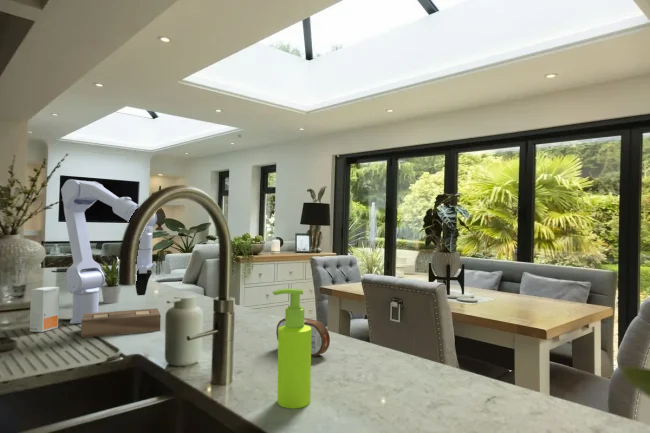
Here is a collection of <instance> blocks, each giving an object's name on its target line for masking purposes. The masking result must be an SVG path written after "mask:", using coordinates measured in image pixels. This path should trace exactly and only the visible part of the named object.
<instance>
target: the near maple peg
mask: <svg viewBox="0 0 650 433" xmlns="http://www.w3.org/2000/svg"><path fill="white" fill-rule="evenodd" d="M99 317H108V314H103V315H94V317H93V318H99Z"/></svg>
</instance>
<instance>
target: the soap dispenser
mask: <svg viewBox="0 0 650 433" xmlns="http://www.w3.org/2000/svg"><path fill="white" fill-rule="evenodd" d="M272 294H273V295H274V296H278V295H284V294H287V295H289V297H290V299H289V300H290V302H289V303H290V305H289V306H287V307H286V308H285V311H284V312H285V317H284V318H285V325H284V326H281V327H279V328H278V339H277V396H276V397H277V400H276V402H277V404H278V405H279V406H280V407H282V408H285V409H302V408H304V407H307V406H309V404H311V393H312V391H311V387H312V386H311V384H312V382H311V380H312V379H311V377H312V376H311V374H312V372H311V371H312V356H311V327H309V326H306V325H304V318H305V307H303V306H301V305H300V304H301V295H304V289H300V288H281V289H276V290H273V291H272Z"/></svg>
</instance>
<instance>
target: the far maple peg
mask: <svg viewBox="0 0 650 433" xmlns="http://www.w3.org/2000/svg"><path fill="white" fill-rule="evenodd" d="M138 314H150V313H149V311H143V312H136V315H138Z"/></svg>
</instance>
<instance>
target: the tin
mask: <svg viewBox="0 0 650 433" xmlns="http://www.w3.org/2000/svg"><path fill="white" fill-rule="evenodd" d="M284 325H285V317H284V318H282V319H281V320H280V321H279V322H278V323H277V325H276V330H275V331H276V338H277V340H278V328H279V327H281V326H284ZM304 325H306V326H309V327H311V357H317V356H319V355H322V354H324V353H326V352H327V351H328V350H329V347H330V345H331V344H330V343H331V340H330V338H331V337H330V333H329V331H328V329H327V327H326V326H325V324H324V323H323V322H321V321H319V320H317V319H311V318H307V317H306V318H305V317H304Z"/></svg>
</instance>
